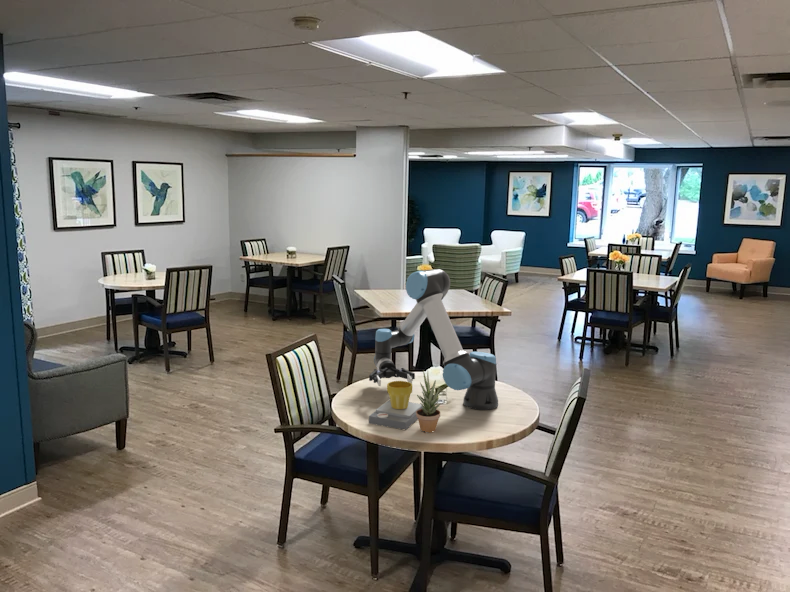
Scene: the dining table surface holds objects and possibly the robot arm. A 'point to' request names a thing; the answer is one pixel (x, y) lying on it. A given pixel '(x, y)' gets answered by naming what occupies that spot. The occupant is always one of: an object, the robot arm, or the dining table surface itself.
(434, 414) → the potted plant
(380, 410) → the kitchen scale
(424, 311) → the robot arm
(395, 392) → the plant pot
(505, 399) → the dining table surface
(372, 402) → the dining table surface
